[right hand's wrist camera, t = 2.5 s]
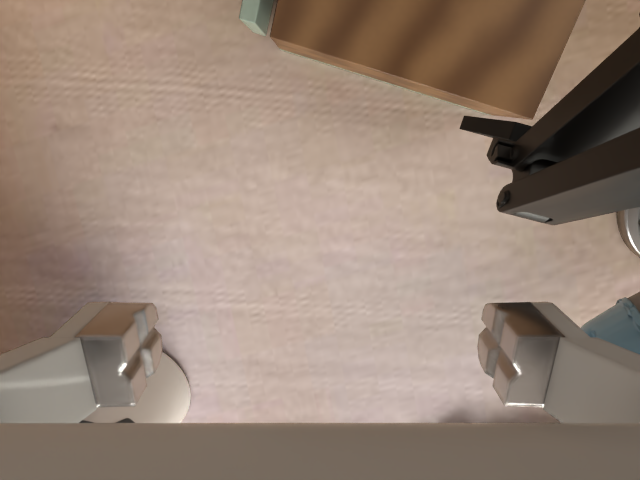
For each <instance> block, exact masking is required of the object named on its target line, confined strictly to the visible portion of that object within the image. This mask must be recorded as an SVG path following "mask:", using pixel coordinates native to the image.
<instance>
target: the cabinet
mask: <svg viewBox="0 0 640 480" xmlns="http://www.w3.org/2000/svg"><path fill="white" fill-rule="evenodd" d="M584 3H585V0H278V2H277V6H276V11H275V15H274V20H273V24H272V29H271V34H270V37H271V38H272V39H273V41H274V42H275V43H276V45H277V46H278V47H279V49H280V50H282V51H285V52H288V53H292V54H295V55H298V56H301V57H304V58H308V59H311V60H314V61H317V62H320V63H323V64H327V65H330V66H333V67H336V68H339V69H343V70H346V71H349V72H352V73H355V74H359V75H362V76H365V77H368V78H371V79H375V80H378V81H381V82H384V83H387V84H391V85H394V86H397V87H400V88H403V89H406V90H410V91H413V92H416V93H419V94H422V95H426V96H429V97H432V98H435V99H438V100H442V101H445V102H448V103H451V104H454V105H458V106H461V107H464V108H467V109H470V110H474V111H477V112H480V113H483V114H486V115H496V116H505V117H514V118H523V119H533V117H534V115H535V113H536V111H537V108H538V106H539V104H540V102H541V99H542V97H543V95H544V93H545V90H546V88H547V86H548V84H549V81H550V79H551V77H552V75H553V72H554V70H555V68H556V66H557V63H558V61H559V59H560V57H561V54H562V52H563V50H564V48H565V45H566V43H567V41H568V39H569V36H570V34H571V32H572V30H573V27H574V25H575V23H576V21H577V18H578V16H579V14H580V12H581V9H582V7H583V5H584Z"/></svg>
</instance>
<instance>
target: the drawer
mask: <svg viewBox="0 0 640 480" xmlns="http://www.w3.org/2000/svg"><path fill="white" fill-rule="evenodd" d="M273 2H274V0H242V5H241V10H240V15H239V19H240V20H241V21H242V22H243V23H244V24H245V25H246V26H247V27H248V28H249V29H250V30H251V31H252V32H254V33H257V34H260V35H263V36H266V34H267V29H268V25H269V20H270V15H271V11H272V6H273Z"/></svg>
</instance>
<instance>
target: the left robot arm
mask: <svg viewBox="0 0 640 480" xmlns="http://www.w3.org/2000/svg"><path fill="white" fill-rule="evenodd" d="M639 15H640V14H639ZM460 129H462V130H466V131H470V132H473V133H477V134H481V135H484V136H488V137H492V138H493V140H492V143H491V145H490V148H489V150H488V153H487V157H488V159H489V161H490V162H491V163H492V164H494V165H498V166H501V167H505V168H509V169H511V170H512V172H513V181H512V183H510V184H508V185H506V186H505V187H503V189H502V190H501V191H500V193H499V196H498V199H497V203H496V204H497V210H498V211H499V212H502V213H506V214H510V215H514V216H518V217H522V218H526V219H530V220H534V221H537V222H541V223H545V224H549V225H558V224H562V223H567V222H571V221H576V220H581V219H585V218H590V217H595V216H599V215H604V214H609V213H613V212H617V223H618V228H619V231H620V234H621V237H622V239H623V241H624V242H625V244H626V245H627V247H628V248H629V249H630V250H631V251H632V252H633V253H634V254H635V255H637V256H638V257H640V27H639V29H638V30H637V31H636V32H635V33H633V34H632V35H631V36H630V37H629V38H628V39H627V40H626V41H625V42H624V43H623V44H621V45H620V46H619V47H618V48H617V49H616V50H615V51H614V52H613V53H612V54H611V55H610V56H608V57H607V58H606V59H605V60H604V61H603V62H602V63H601V64H600V65H599V66H598V67H597V68H595V69H594V70H593V71H592V72H591V73H590V74H589V75H588V76H587V77H586V78H585V79H583V80H582V81H581V82H580V83H579V84H578V85H577V86H576V87H575V88H574V89H573V90H572V91H570V92H569V93H568V94H567V95H566V96H565V97H564V98H563V99H562V100H561V101H560V102H558V103H557V104H556V105H555V106H554V107H553V108H552V109H551V110H550V111H549V112H548V113H547V114H545V115H544V116H543V117H542V118H541V119H540V120H539V121H538V122H537V123H536V124H535V125H533V126H528V125H525V124H521V123H517V122H511V121H503V120H495V119H486V118H478V117H470V116H464V118H463V121H462V123H461V126H460ZM581 329H582V330H583V331H584V332H585V333H586V334H587V335H588V336H590V337H596V338H600V339H602V340H605V341H607V342H610V343H612V344H615V345H617V346H620V347H622V348H625V349H627V350H630V351H632V352H635V353H637V354H640V292H638V293H637V294H635V295H633V296H631V297H629V298H626V297H625V298H622V299H619V300H618V301H617V303H616V305H615V306H613V307H611V308H610V309H608V310H606V311H605V312H603V313H602V314H600V315H598V316H597V317H595V318H593V319H592V320H590V321H588V322H587V323H586V324H584V325H583V326H582V327H581Z"/></svg>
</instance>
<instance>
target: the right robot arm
mask: <svg viewBox="0 0 640 480" xmlns="http://www.w3.org/2000/svg"><path fill="white" fill-rule="evenodd" d="M157 321H158V314H157V309H156V306H155V305H154V304H153V303H125V302H92V303H87V304H86V305H85V306H84V307H83V308H82V309H80V310H79V311H78V312H77V313H76V314H75V315H74V316H73V317H72V318H70V319H69V320H68V321H67V322H66V323H65V324H64V325H63V326H62V327H60V328H59V329H58V330H57V331H56V332H55V333H54V334H53V335H52V336H50V337H44V338H40V339H38V340H35V341H33V342H30V343H28V344H25V345H23V346H20V347H18V348H15V349H13V350H10V351H8V352H5V353H3V354H0V480H640V354H637V353H635V352H632V351H630V350H627V349H625V348H622V347H620V346H617V345H615V344H612V343H610V342H607V341H605V340H602V339H600V338H596V337H590V336H588V335H587V334H586V333H585V332H584V331H583V330H582V329H581V328H580V327H578V326H577V325H576V324H575V323H574V322H573V321H572V320H571V319H570V318H569V317H567V316H566V315H565V314H564V313H563V312H562V311H561V310H560V309H559V308H557V307H556V306H555V305H554V304H553V303H550V302H518V303H489V304H486V305H485V307H484V309H483V313H482V321H483V322H484V324H485V325H486V328H485V329H484V330H483V331H482V332H481V333H480V334H479V339H478V357H479V361H480V364H481V366H482V368H483V370H484V372H485V373H486V374H488V375H489V376H491V377H492V378H494V381H493V387H494V389H495V391H496V392H497V394H498V396H499V397H500V399H501V401H502V402H503V404H504V406H509V407H543V409H544V410H545V411H546V412H548V413H549V414H550V415H552V416H553V417H554V418H556V419H557V420H558V421H560V422H561V423H181V422H182V421H183V419H184V417H185V416H186V414H187V412H188V410H189V406H190V401H191V392H190V387H189V383H188V381H187V378H186V376H185V374H184V373H183V371H182V370H181V368H180V367H179V366H178V365H177V364H176V363H175V362H174V361H173V360H172V359H171V358H170V357H169V356H168V355H166V354H165V353H163V352H162V338H161V334H160V333H159V332H158V331H157V330H156V329H155V328H154V325H155V324H156V322H157Z"/></svg>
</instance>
